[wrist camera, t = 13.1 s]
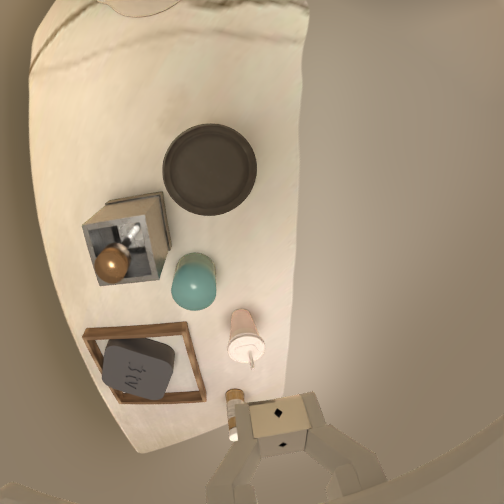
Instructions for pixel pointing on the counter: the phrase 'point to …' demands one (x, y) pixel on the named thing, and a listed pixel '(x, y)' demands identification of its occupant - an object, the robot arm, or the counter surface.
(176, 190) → the coffee can
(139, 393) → the streaming box
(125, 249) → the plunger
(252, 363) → the smoothie
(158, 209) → the square gray utensil holder
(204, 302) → the teal pillar candle
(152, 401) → the wooden square frame
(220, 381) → the counter surface
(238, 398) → the sprinkles bottle
